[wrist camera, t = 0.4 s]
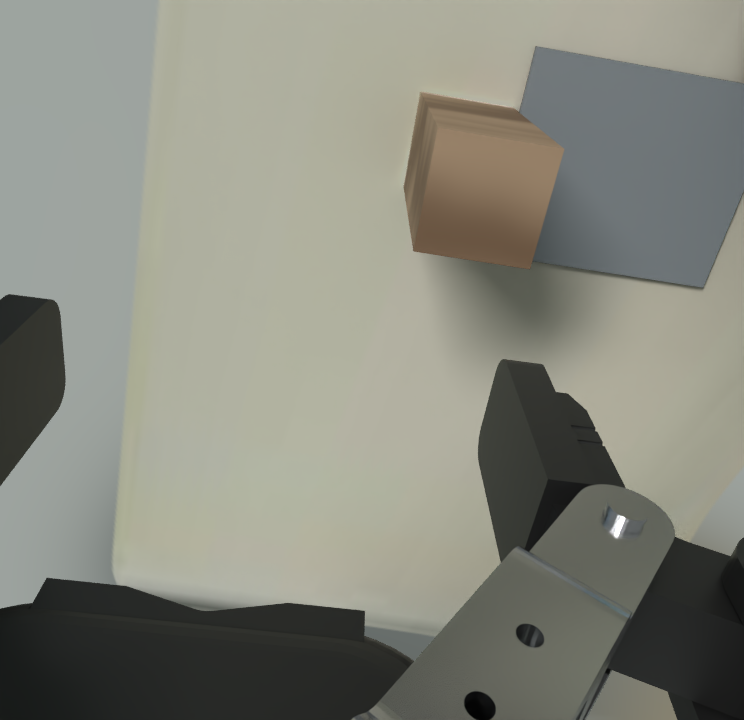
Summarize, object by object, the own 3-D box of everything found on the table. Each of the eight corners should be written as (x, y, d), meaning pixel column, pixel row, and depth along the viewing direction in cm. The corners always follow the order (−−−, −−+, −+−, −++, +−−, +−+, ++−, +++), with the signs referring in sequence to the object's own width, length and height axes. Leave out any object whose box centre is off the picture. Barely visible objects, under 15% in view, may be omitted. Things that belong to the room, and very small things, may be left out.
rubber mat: (535, 46, 31) (537, 46, 31) (782, 90, 32) (785, 91, 32) (484, 251, 36) (485, 253, 36) (700, 285, 37) (703, 287, 36)
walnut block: (420, 91, 32) (438, 127, 23) (512, 107, 32) (564, 148, 24) (403, 185, 34) (413, 251, 25) (490, 199, 35) (530, 269, 26)
